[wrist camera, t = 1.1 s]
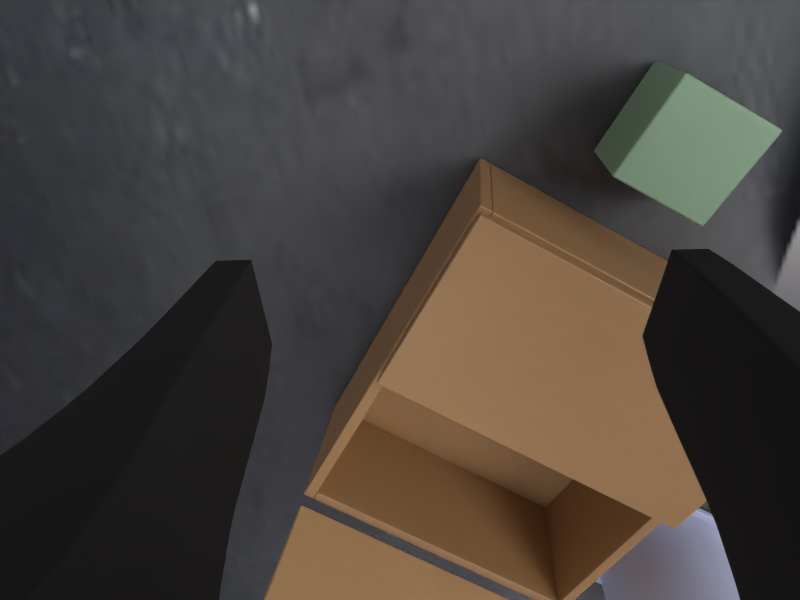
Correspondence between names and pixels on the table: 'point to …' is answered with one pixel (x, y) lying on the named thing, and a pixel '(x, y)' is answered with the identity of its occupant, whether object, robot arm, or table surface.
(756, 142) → the cube
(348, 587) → the flap
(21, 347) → the table surface
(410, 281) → the carton
